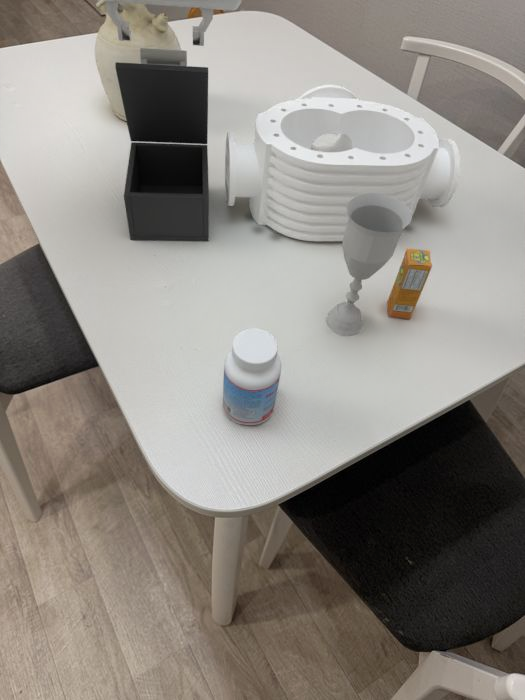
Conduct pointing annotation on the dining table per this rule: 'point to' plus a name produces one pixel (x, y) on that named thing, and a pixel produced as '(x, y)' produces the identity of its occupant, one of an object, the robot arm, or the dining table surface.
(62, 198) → the dining table surface
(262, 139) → the housing
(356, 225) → the chalice
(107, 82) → the jug
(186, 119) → the chamber lid
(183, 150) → the box
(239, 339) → the pill bottle
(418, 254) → the supplement box
